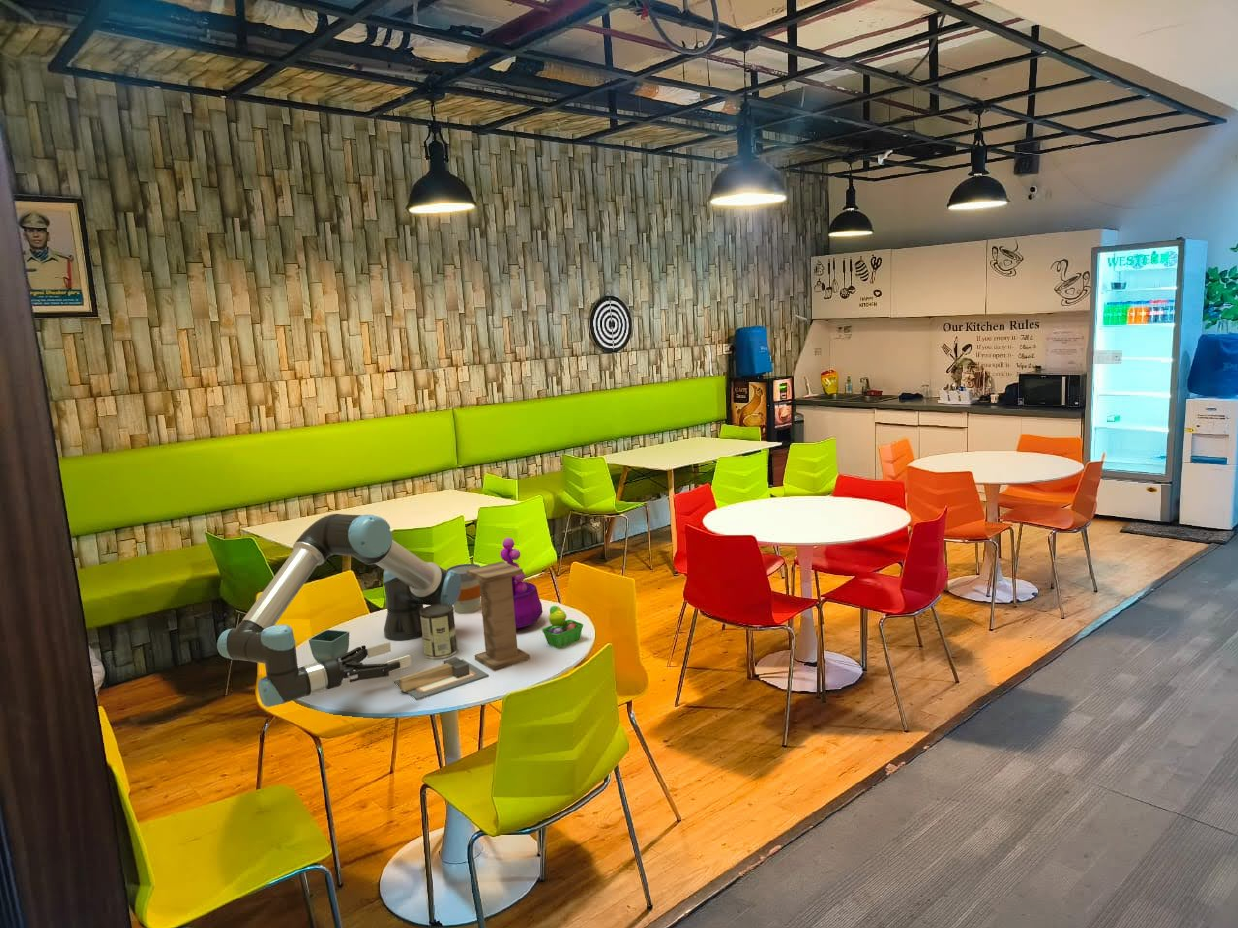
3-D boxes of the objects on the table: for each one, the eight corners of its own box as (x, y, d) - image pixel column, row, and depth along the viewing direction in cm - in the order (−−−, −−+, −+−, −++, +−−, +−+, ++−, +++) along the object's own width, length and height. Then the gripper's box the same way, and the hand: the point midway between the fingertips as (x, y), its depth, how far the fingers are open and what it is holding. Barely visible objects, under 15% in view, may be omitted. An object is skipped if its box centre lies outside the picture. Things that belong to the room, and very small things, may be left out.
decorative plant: (477, 625, 284) (469, 538, 279) (525, 611, 295) (518, 527, 290) (504, 639, 269) (496, 548, 264) (553, 624, 280) (547, 537, 275)
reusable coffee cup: (466, 617, 292) (462, 576, 290) (442, 611, 300) (437, 571, 297) (492, 606, 302) (488, 566, 299) (467, 601, 309) (464, 561, 307)
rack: (475, 659, 254) (466, 570, 250) (509, 648, 261) (502, 561, 257) (494, 671, 245) (486, 578, 240) (529, 659, 252) (522, 568, 247)
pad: (393, 682, 241) (393, 680, 241) (462, 660, 254) (462, 658, 254) (416, 700, 229) (416, 697, 228) (488, 676, 242) (488, 673, 241)
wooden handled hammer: (395, 685, 237) (394, 675, 236) (456, 666, 248) (455, 656, 248) (407, 694, 231) (406, 684, 230) (469, 674, 242) (468, 664, 242)
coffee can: (444, 643, 269) (440, 601, 267) (464, 650, 262) (460, 607, 260) (417, 654, 262) (412, 610, 259) (436, 661, 254) (432, 617, 252)
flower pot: (353, 658, 261) (350, 630, 260) (335, 670, 253) (331, 641, 252) (329, 656, 264) (326, 629, 263) (311, 667, 256) (307, 639, 254)
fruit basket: (556, 650, 258) (554, 615, 256) (539, 643, 264) (536, 609, 262) (585, 639, 265) (583, 605, 263) (568, 633, 272) (565, 599, 270)
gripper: (309, 675, 230) (383, 653, 243) (341, 704, 211) (420, 679, 223) (305, 649, 229) (380, 628, 242) (337, 676, 209) (417, 652, 222)
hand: (399, 653), depth 232 cm, fingers open, 13 cm apart
